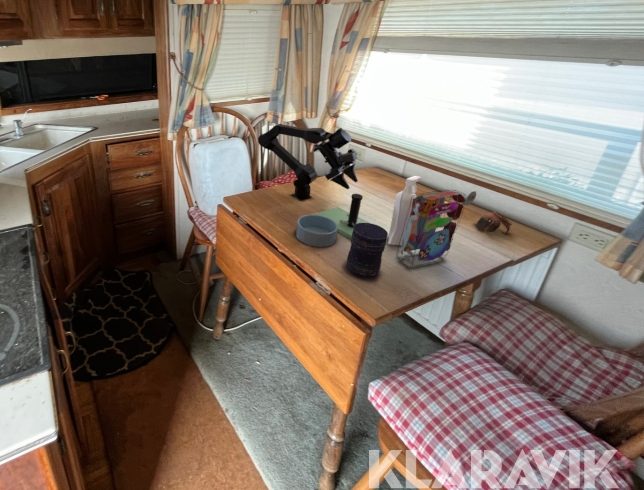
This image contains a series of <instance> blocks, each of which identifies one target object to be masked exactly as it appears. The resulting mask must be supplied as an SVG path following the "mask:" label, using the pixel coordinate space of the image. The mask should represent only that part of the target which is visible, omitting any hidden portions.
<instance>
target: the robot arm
mask: <svg viewBox="0 0 644 490" xmlns="http://www.w3.org/2000/svg"><path fill="white" fill-rule="evenodd" d="M280 135H284V136H289V137H294V138H299V139H303V140H304V141H305V142H308V143H310V144H313V145H314V148H313V152H314V153H315V152H318V151H319V152H320V154H321V155H322V157H323V158H324V159H325V160H324V163H325V164H328V166H329V167H330V169H329V171H327V172H326V173H325V176H324V177H325V179H326V180H327V181H330V182H333V183H335V184H337V185H339V186H341V187H342V188H344V189H346V190H349V189H351V187H350V185H349V183H348V181H347V180H346V178H345V176H347V178H349V179H350V180H352V181H353V182H354V183H358V181H359V180H358V177H357V174H356V171H355V167H356V162H357V161H356V160H358V157H357V155H358V152H357V151H356V150H355V149H354V148H350V149H348V150H347V152H345V153H342V151H338V150H339V149H341V148H342V147H344V146H346V145H347V144H349V143H351V142H352V137H351V135H350V133H349V132H347V131H346V130H344V129H343V128H342V127H340V128H338V129H336V130H335V132H333V133H332V132H329V131H326V130H325V129H324V128H322V127H310V128H309V127H307V128H305V127H298V126H295V125H294V126H293V125H287V124H283V123H277V124H276V125H273V127H271V128H270V129H269V130H268V131H266V132H264V133H261V134H260V135H259V136H258V137H257V143H258V145H259V146H260V147H262V148H263V149H265V150H267V151H271V152H273V154H275V156H277V157H278V159H280V160H281V161H282V162H283V163H284V164H286V166H288V167H289V168H290V169H291V170H292V171H293V173H294V174H295V177H296V179H294V180H293V181H292V184H293V186H294V193H292V194H291V196H292V197H294V198H296V199H298V200H299V201H304V200H308V199H311V198H312V196H311V185H310V184H312V183H313V182H314V181H316V180H317V178H318V172H317V171H316V168H314V167H313V166H312V165H311V163H310V164H309V163H307V164H303V163H302V162H300V160H298V158H296V157H295V156H294V155H293V154H292V153H291V152H290V151H288V150H287V149H286V148H285V147H284V146H283V145H282V144H280V141H279V139H278V137H279V136H280ZM337 149H338V150H337Z"/></svg>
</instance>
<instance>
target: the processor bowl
mask: <svg viewBox="0 0 644 490" xmlns="http://www.w3.org/2000/svg"><path fill="white" fill-rule="evenodd" d="M296 221H297V222H296V230H295V236H296V239H298V240H299V241H300V242H302V243H304V244H305V245H307V246H310V247H315V248H326V247H331V246H332V245H334V244H335V243H336V240H337V234H338V232H337V229H338V226H337V224H336V223H335V222H334V221H333V220H331V219H330V218H327V217H324V216H320V215H314V214H305V215H301V216H299V218H298V219H297V220H296Z"/></svg>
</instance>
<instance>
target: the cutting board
mask: <svg viewBox="0 0 644 490" xmlns="http://www.w3.org/2000/svg"><path fill="white" fill-rule="evenodd" d="M349 212H350V211H347V210H345V209H344V208H343V209H342V208H341V207H339V206H334V207H332V208H328V209H326V210H323V211H320V212H317V213H314V214H313V215H320V216H324V217H327V218H330V219H331V220H333V221H334V222H335V223H336V224H337V226H338V229H337V233H339V234H341V235H342V236H344V237H346V238H347V239H350V240H351V237H352V233H353V228H351V227H348V226H347V224H343V223H340V220H344V221H348V217H347V214H349ZM357 222H364V223H370V222H368V221H366V220H364V219H362V218H360V217H359V216H358V219H357Z"/></svg>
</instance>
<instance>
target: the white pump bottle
mask: <svg viewBox="0 0 644 490" xmlns="http://www.w3.org/2000/svg"><path fill="white" fill-rule="evenodd" d="M421 179H422V177H421V176H418V175H413V176H410V177H408V178H406V179H405V182H404V185H405V187H404V189H403V190H401V191H399V192H398V193H397V194H395V199H394V200H395V201H394V206H393V211H392V216H391V220H390V225H389V226H390V227H389V232H388V236H387V240H388V241H387V243H388V244H389V245H391V246H399V247H400V246H401V247H402V241H403V236H404V234H405V231H406V226H407V222H408V220H409V217H410V214H411V210H412V203H413V198H414V199H415V198H416V197H417V194H416V193H417V191H418V186H417V184H416V183H418V182H420V181H421ZM415 195H416V196H415ZM412 196H413V197H412ZM411 197H412V201H411ZM410 201H411V203H410ZM410 205H411V206H410ZM409 206H410V207H409ZM408 209H410V210H408ZM407 212H408V213H409V214H408V213H407ZM406 215H407V216H408V217H407V216H406ZM405 219H407V220H405ZM405 222H406V223H405ZM404 223H405V226H404ZM403 229H404V231H403ZM402 232H403V233H402ZM402 234H403V235H402ZM401 235H402V237H401ZM400 239H401V240H400ZM399 242H400V244H399Z"/></svg>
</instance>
